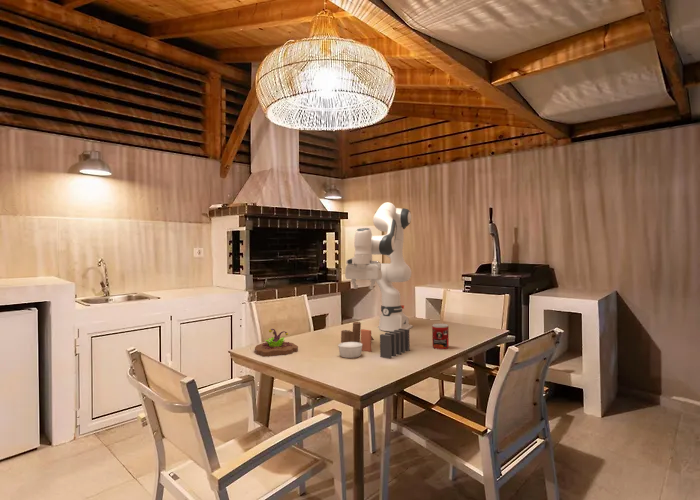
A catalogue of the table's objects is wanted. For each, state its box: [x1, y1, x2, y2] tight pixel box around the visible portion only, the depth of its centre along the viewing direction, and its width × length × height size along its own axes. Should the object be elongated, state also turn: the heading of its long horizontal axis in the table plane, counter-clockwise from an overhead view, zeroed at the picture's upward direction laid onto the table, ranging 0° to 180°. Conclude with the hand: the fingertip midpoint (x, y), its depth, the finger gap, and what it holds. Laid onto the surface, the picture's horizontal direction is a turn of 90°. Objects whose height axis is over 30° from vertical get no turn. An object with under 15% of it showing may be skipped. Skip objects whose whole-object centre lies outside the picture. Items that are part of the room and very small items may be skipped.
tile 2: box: [394, 330, 406, 354], centre depth 194 cm, size 2×5×10 cm, turn 52°
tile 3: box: [389, 331, 402, 356], centre depth 191 cm, size 2×5×10 cm, turn 52°
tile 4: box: [384, 332, 397, 357], centre depth 187 cm, size 2×5×10 cm, turn 52°
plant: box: [254, 328, 299, 358], centre depth 200 cm, size 20×20×11 cm
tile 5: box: [379, 333, 393, 359], centre depth 184 cm, size 2×5×10 cm, turn 52°
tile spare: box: [360, 328, 373, 353], centre depth 196 cm, size 2×5×10 cm, turn 52°
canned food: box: [431, 323, 450, 350], centre depth 201 cm, size 8×8×11 cm
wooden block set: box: [340, 321, 375, 343], centre depth 212 cm, size 18×9×10 cm, turn 127°
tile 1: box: [398, 328, 411, 352], centre depth 197 cm, size 2×5×10 cm, turn 52°
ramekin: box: [337, 342, 363, 359], centre depth 188 cm, size 11×11×5 cm
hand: (363, 288), depth 203 cm, fingers open, 8 cm apart
